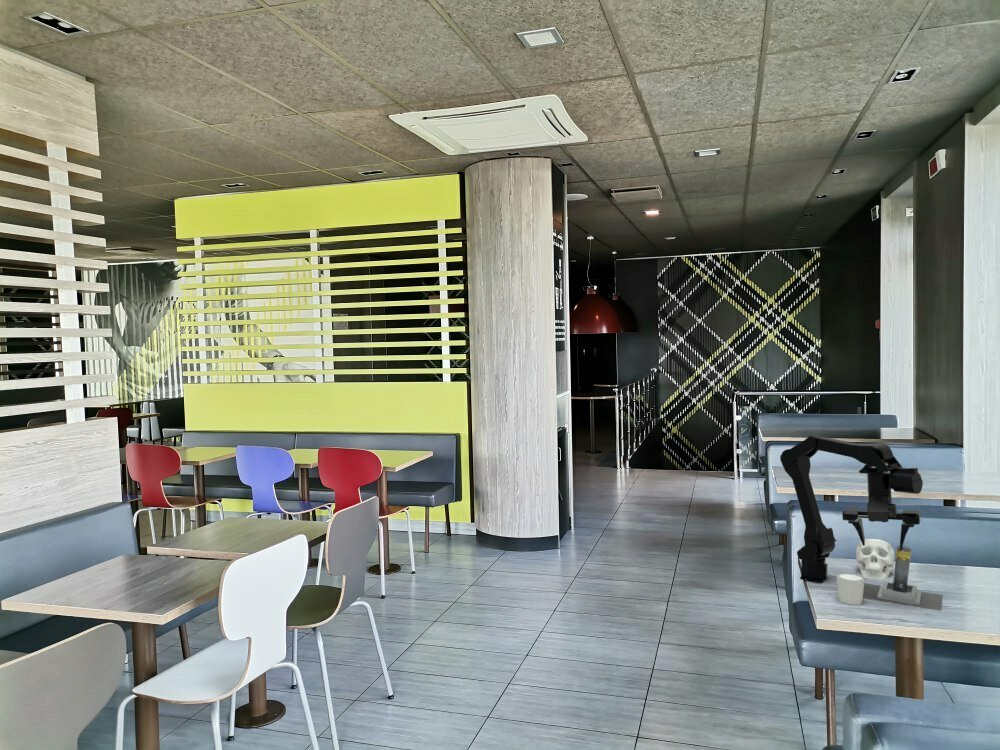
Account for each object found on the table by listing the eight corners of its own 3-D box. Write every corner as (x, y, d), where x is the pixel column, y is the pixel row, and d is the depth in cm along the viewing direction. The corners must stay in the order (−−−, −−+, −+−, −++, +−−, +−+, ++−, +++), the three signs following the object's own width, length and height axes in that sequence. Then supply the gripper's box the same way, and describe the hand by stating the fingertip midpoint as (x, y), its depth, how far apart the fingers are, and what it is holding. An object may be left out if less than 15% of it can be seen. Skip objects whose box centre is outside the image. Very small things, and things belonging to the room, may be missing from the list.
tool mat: (848, 597, 201) (848, 595, 201) (854, 583, 213) (854, 581, 213) (941, 612, 189) (941, 610, 189) (942, 596, 201) (942, 594, 201)
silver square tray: (877, 599, 198) (877, 589, 198) (880, 588, 206) (880, 579, 206) (919, 605, 193) (919, 596, 193) (921, 594, 201) (921, 585, 201)
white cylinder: (837, 605, 195) (837, 579, 195) (835, 596, 202) (835, 571, 201) (866, 608, 193) (866, 581, 192) (862, 599, 199) (863, 574, 199)
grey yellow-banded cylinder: (893, 595, 198) (898, 549, 196) (890, 589, 202) (895, 545, 200) (907, 597, 197) (912, 551, 195) (904, 591, 201) (909, 546, 199)
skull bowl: (853, 575, 216) (855, 535, 221) (856, 588, 226) (857, 550, 232) (893, 580, 210) (894, 539, 216) (894, 593, 221) (895, 554, 226)
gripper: (838, 493, 199) (841, 550, 199) (916, 496, 189) (919, 556, 188) (844, 487, 208) (846, 541, 208) (919, 490, 198) (921, 547, 198)
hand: (882, 546), depth 200 cm, fingers open, 9 cm apart
